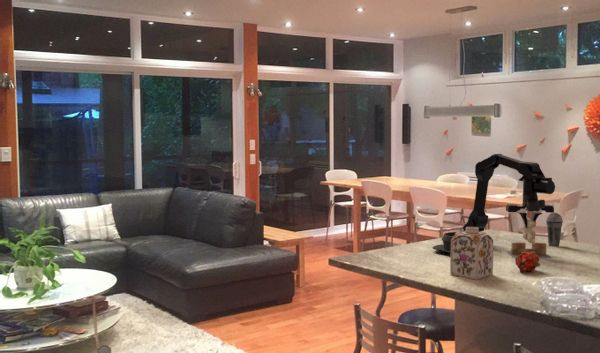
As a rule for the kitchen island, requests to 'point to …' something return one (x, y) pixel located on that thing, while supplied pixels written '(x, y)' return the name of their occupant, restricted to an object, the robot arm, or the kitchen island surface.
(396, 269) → the kitchen island surface
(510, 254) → the rubber mat
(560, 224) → the beverage cup
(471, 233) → the decorative jar
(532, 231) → the upright wooden plank
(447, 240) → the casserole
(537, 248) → the walnut board
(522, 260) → the dragon fruit
